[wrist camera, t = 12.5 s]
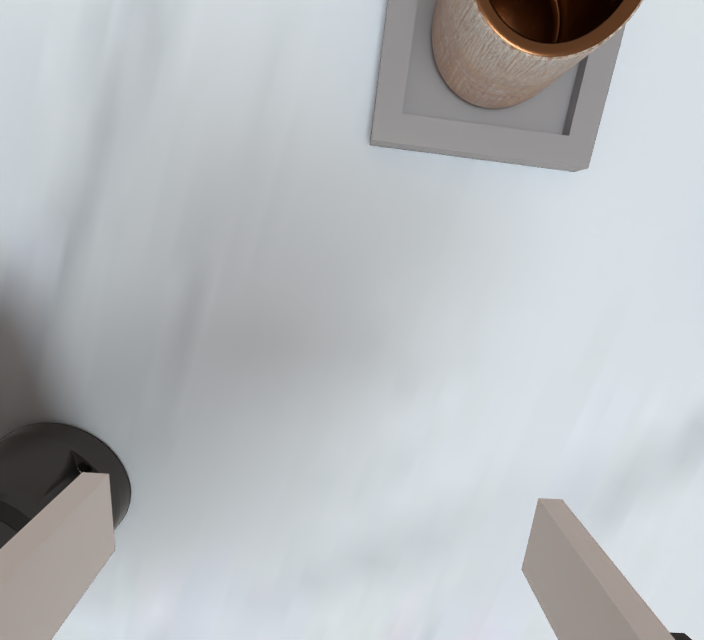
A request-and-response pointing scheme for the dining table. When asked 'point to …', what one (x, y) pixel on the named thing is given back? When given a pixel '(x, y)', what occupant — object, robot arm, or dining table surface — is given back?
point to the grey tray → (477, 122)
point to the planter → (518, 43)
